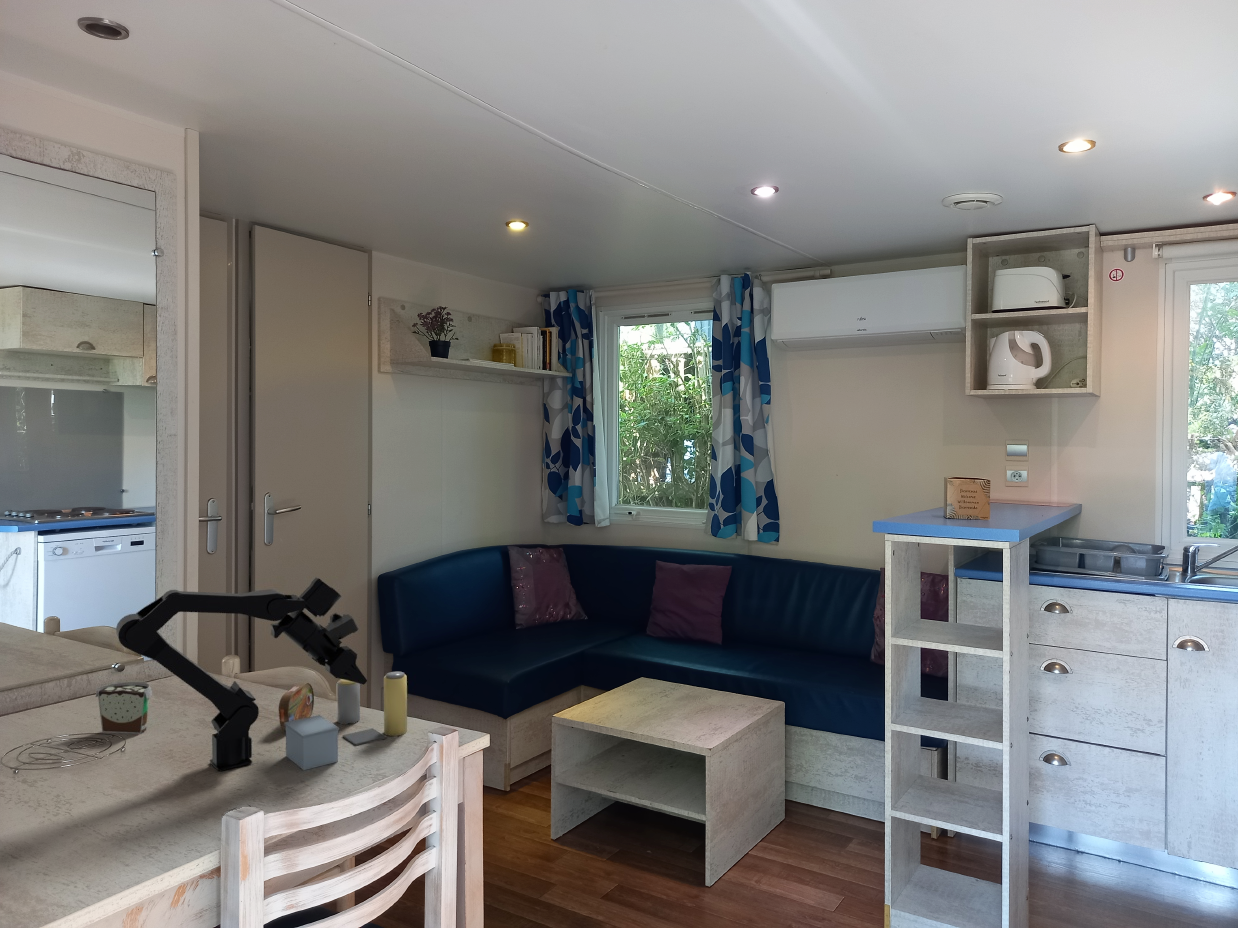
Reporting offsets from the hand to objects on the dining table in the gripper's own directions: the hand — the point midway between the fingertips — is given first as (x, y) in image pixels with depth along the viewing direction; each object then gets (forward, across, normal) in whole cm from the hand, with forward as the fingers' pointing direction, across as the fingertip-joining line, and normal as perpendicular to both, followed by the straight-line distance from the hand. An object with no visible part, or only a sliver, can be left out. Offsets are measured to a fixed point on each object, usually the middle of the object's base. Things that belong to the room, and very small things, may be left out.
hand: (359, 677), depth 188 cm
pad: (+10, 0, +9) cm, 13 cm away
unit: (+1, -6, +18) cm, 19 cm away
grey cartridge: (+11, +13, +8) cm, 19 cm away
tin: (+3, +18, +16) cm, 24 cm away
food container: (-19, +36, +39) cm, 56 cm away
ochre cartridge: (+15, 0, +4) cm, 16 cm away
